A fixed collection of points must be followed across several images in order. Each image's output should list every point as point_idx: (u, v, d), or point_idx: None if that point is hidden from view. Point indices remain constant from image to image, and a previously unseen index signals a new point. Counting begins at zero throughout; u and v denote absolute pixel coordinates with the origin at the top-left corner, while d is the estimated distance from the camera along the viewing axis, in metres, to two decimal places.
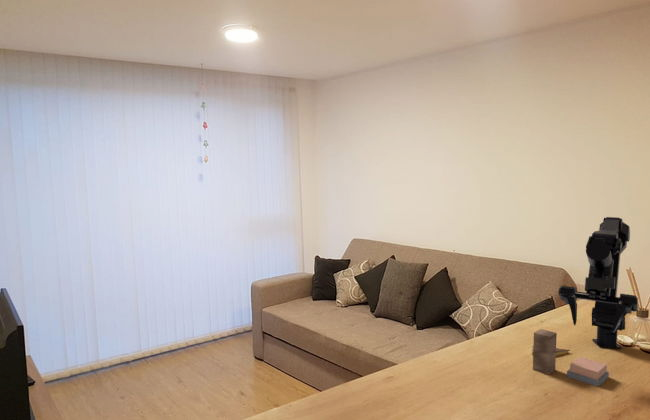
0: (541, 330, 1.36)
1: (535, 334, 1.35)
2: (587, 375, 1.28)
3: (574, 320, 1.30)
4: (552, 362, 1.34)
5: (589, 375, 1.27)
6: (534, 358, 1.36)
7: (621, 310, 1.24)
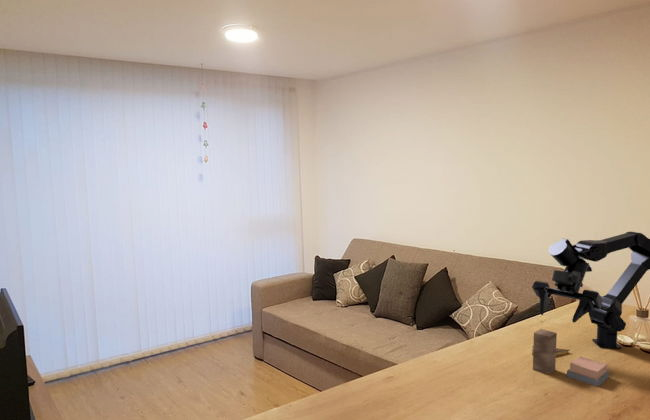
0: (541, 330, 1.36)
1: (535, 334, 1.35)
2: (587, 375, 1.28)
3: (541, 310, 1.43)
4: (552, 362, 1.34)
5: (589, 375, 1.27)
6: (534, 358, 1.36)
7: (582, 303, 1.36)
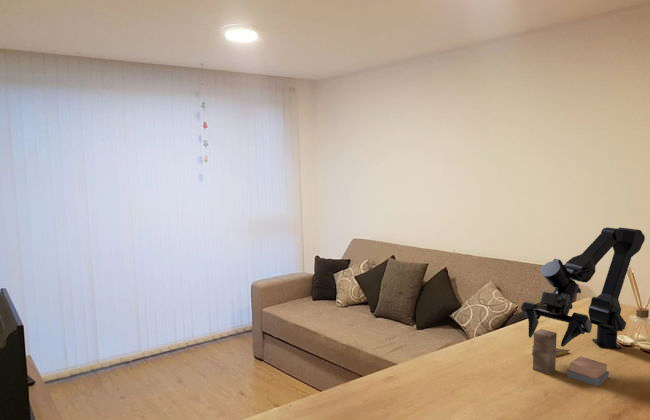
0: (541, 330, 1.36)
1: (535, 334, 1.35)
2: (586, 374, 1.28)
3: (529, 332, 1.39)
4: (552, 362, 1.34)
5: (588, 374, 1.28)
6: (534, 358, 1.36)
7: (572, 327, 1.32)
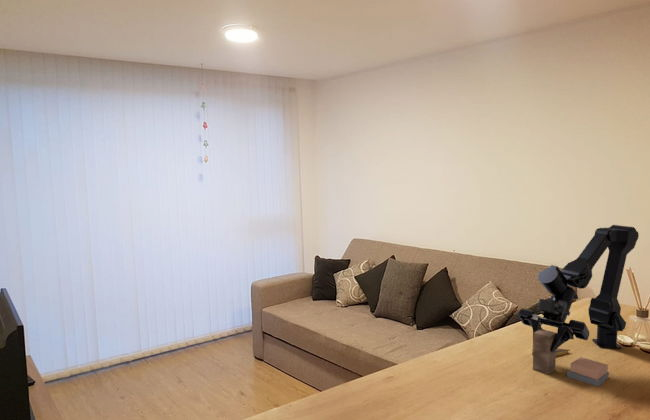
0: (541, 330, 1.36)
1: (535, 334, 1.35)
2: (587, 375, 1.28)
3: None
4: (552, 362, 1.34)
5: (589, 375, 1.27)
6: (534, 358, 1.36)
7: (561, 332, 1.33)
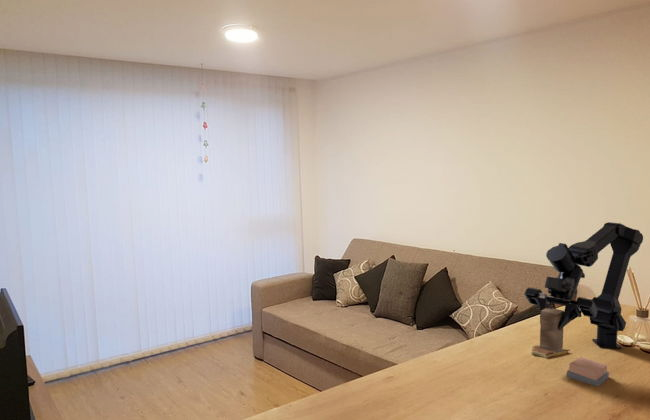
0: (548, 309, 1.35)
1: (542, 312, 1.34)
2: (586, 375, 1.28)
3: None
4: (559, 340, 1.33)
5: (588, 375, 1.27)
6: (541, 336, 1.34)
7: (568, 310, 1.31)
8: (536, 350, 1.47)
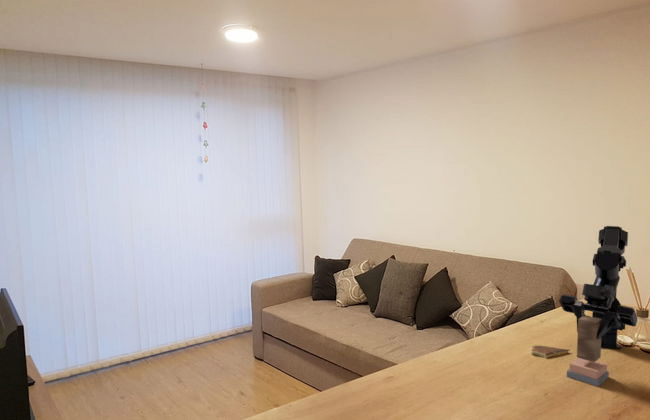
0: (586, 317, 1.31)
1: (580, 320, 1.29)
2: (587, 375, 1.28)
3: None
4: (597, 349, 1.29)
5: (589, 375, 1.27)
6: (578, 345, 1.30)
7: (607, 318, 1.27)
8: (536, 350, 1.47)
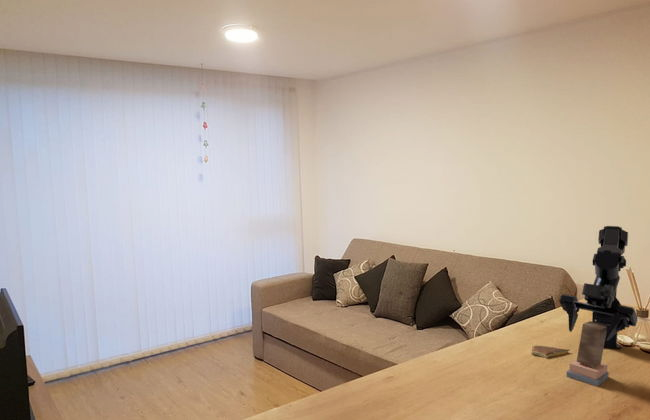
0: (591, 323, 1.31)
1: (584, 325, 1.29)
2: (586, 375, 1.28)
3: (570, 326, 1.32)
4: (598, 356, 1.29)
5: (588, 375, 1.28)
6: (580, 350, 1.30)
7: (616, 320, 1.26)
8: (536, 350, 1.47)
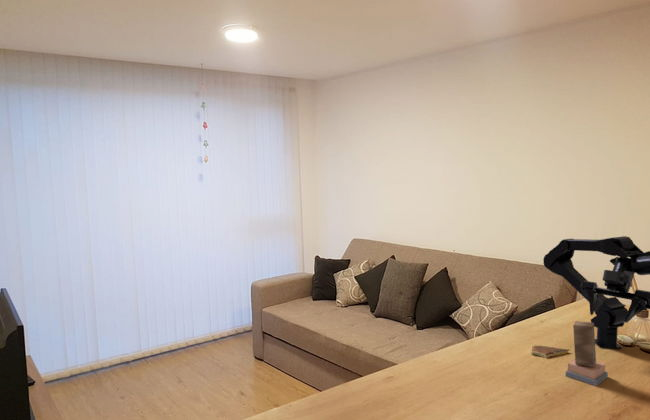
0: (578, 322, 1.32)
1: (575, 326, 1.30)
2: (584, 375, 1.29)
3: (591, 310, 1.43)
4: (594, 353, 1.30)
5: (586, 375, 1.28)
6: (576, 352, 1.30)
7: (635, 303, 1.36)
8: (536, 350, 1.47)
